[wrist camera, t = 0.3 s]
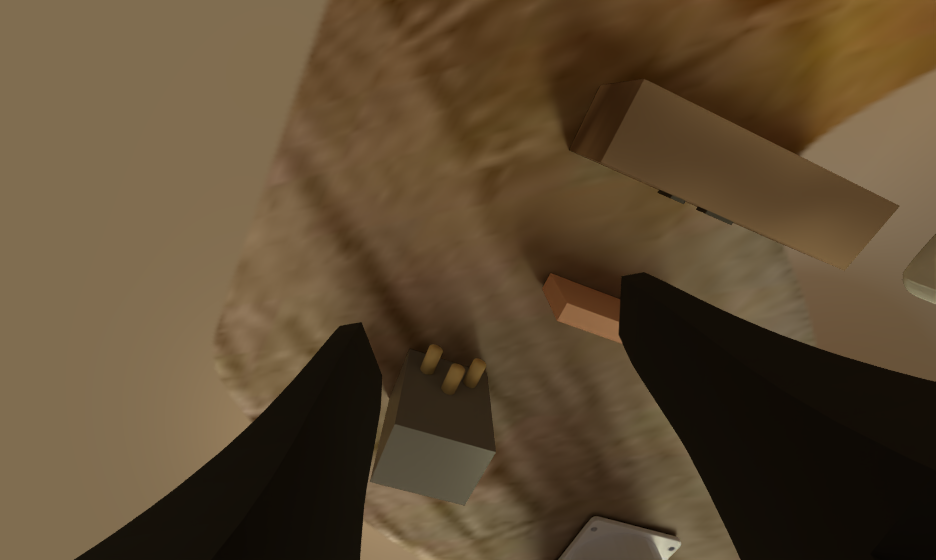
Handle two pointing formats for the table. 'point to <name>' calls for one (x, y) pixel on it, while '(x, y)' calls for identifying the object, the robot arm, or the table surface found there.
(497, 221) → the table surface
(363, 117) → the table surface
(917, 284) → the photo printer
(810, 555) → the robot arm
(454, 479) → the plug
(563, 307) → the orange flat block
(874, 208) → the socket housing
